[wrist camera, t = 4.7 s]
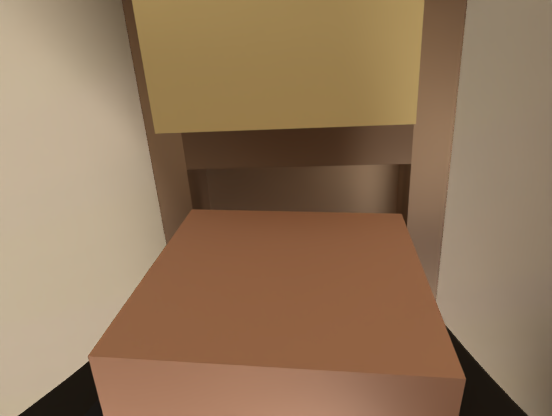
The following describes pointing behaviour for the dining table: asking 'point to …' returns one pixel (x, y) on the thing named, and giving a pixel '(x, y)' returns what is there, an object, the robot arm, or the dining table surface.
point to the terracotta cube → (281, 323)
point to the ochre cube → (279, 63)
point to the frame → (324, 154)
